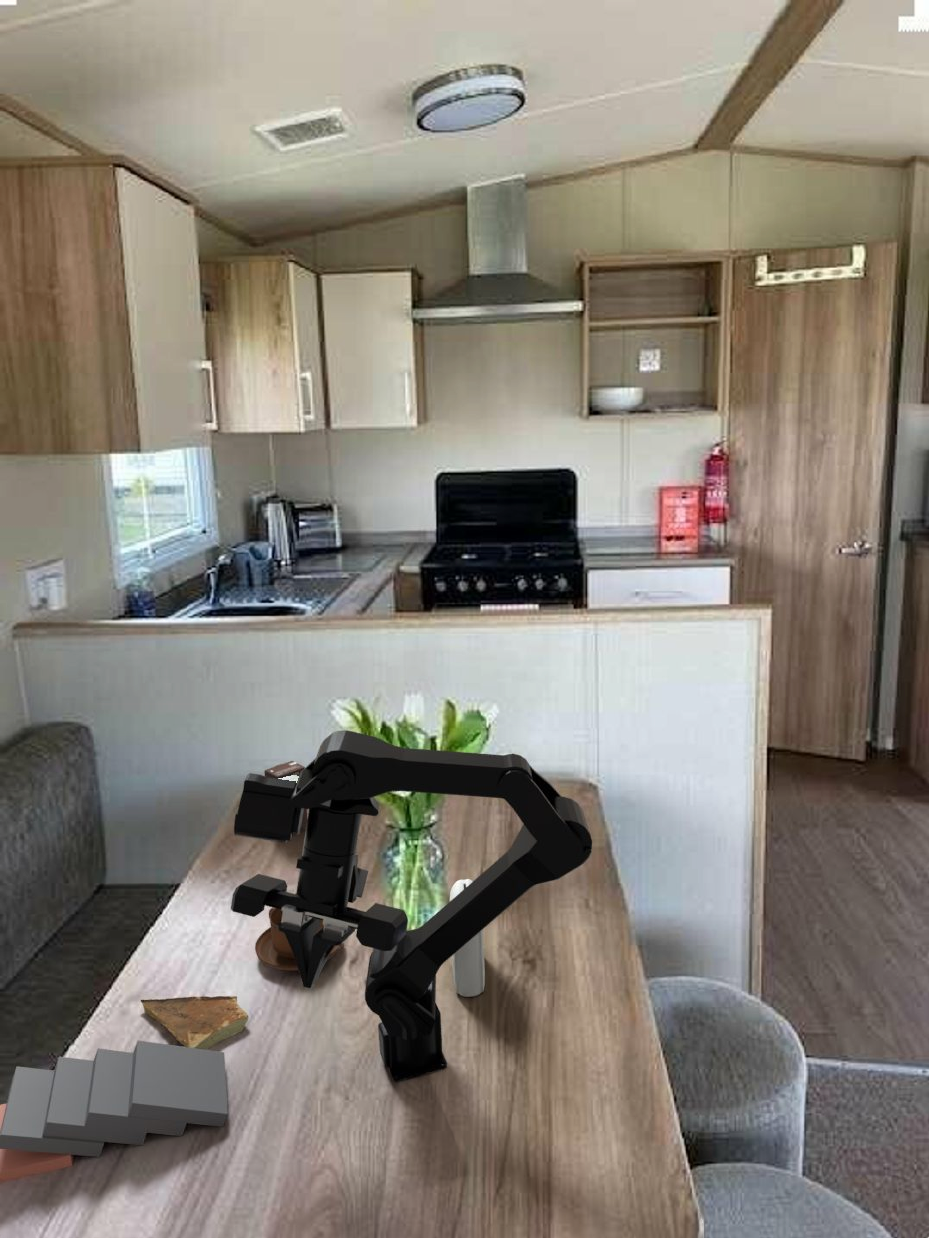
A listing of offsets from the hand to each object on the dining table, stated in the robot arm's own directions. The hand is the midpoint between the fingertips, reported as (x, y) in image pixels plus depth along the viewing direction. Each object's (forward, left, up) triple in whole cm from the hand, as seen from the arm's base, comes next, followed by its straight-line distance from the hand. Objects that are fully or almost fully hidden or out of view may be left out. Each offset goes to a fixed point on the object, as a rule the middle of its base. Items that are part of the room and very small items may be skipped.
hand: (308, 986), depth 103 cm
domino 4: (+14, -2, -12) cm, 19 cm away
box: (-5, -64, -13) cm, 66 cm away
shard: (+13, -15, -13) cm, 24 cm away
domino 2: (+25, -2, -12) cm, 28 cm away
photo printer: (-22, -13, -13) cm, 29 cm away
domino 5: (+10, -2, -12) cm, 16 cm away
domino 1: (+23, -2, -12) cm, 26 cm away
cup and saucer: (-2, -26, -13) cm, 29 cm away
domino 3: (+18, -2, -12) cm, 22 cm away
